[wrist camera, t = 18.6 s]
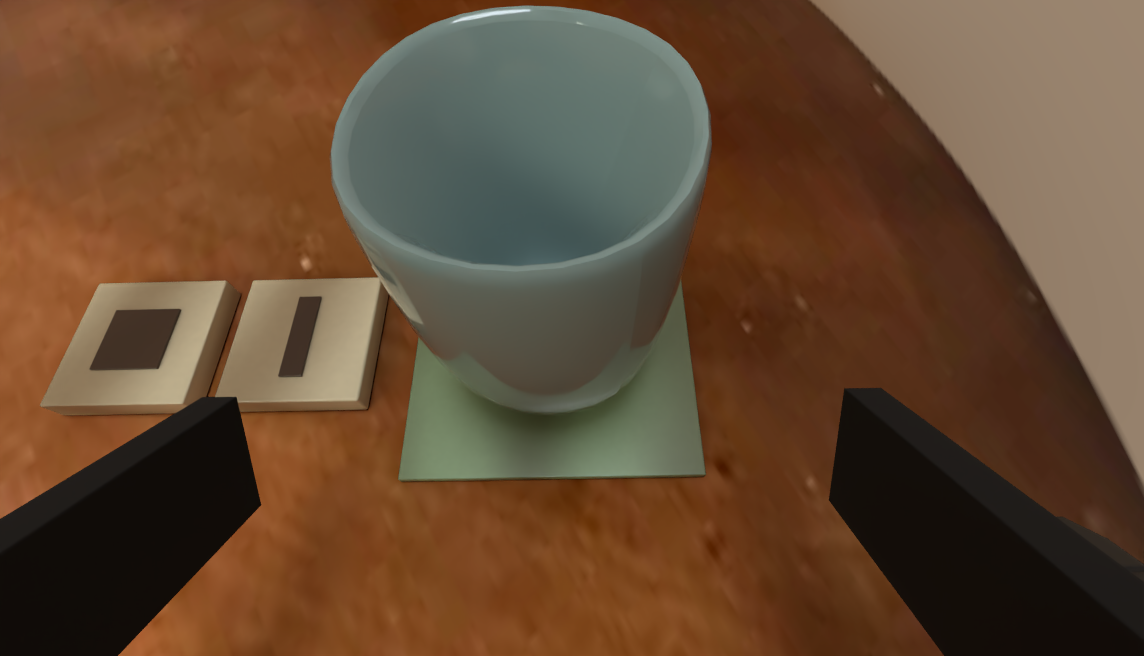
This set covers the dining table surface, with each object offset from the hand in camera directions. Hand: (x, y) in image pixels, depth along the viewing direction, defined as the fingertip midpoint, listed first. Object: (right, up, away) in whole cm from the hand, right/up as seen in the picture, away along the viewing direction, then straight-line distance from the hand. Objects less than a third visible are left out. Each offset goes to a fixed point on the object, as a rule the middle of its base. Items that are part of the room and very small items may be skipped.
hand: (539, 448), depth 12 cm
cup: (0, +2, +8) cm, 8 cm away
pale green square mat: (-6, +2, +8) cm, 11 cm away
